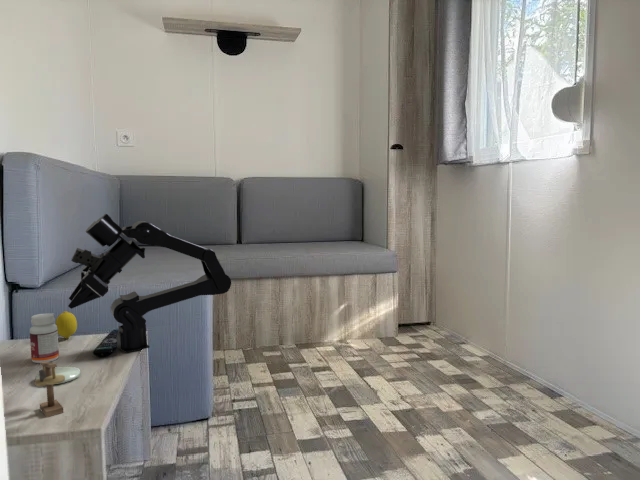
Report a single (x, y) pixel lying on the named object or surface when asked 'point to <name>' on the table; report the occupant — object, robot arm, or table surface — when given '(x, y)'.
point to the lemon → (66, 324)
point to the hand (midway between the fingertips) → (69, 303)
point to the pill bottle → (44, 338)
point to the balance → (49, 388)
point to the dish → (66, 373)
